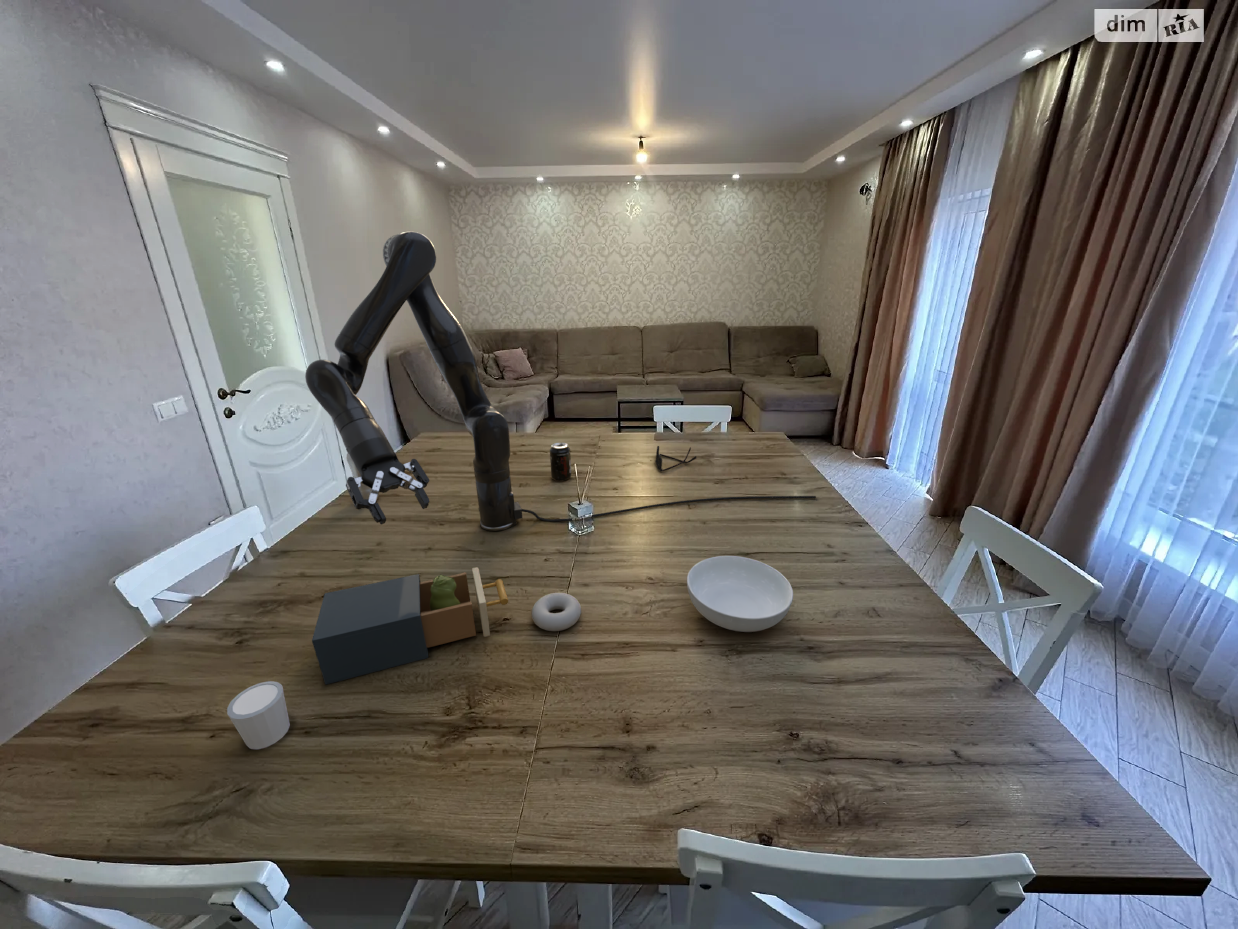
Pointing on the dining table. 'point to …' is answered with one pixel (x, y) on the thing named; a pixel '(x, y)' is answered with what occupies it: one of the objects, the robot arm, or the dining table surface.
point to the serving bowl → (739, 593)
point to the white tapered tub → (260, 714)
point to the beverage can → (560, 461)
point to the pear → (443, 593)
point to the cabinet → (369, 629)
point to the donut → (558, 619)
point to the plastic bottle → (363, 488)
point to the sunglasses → (659, 459)
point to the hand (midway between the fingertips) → (405, 514)
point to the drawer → (457, 611)
